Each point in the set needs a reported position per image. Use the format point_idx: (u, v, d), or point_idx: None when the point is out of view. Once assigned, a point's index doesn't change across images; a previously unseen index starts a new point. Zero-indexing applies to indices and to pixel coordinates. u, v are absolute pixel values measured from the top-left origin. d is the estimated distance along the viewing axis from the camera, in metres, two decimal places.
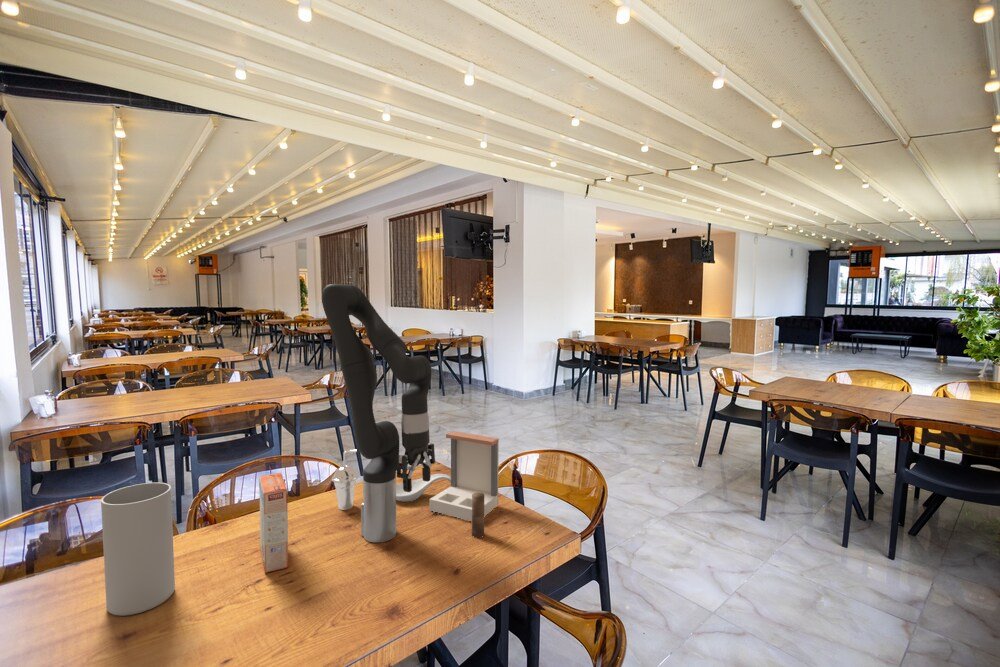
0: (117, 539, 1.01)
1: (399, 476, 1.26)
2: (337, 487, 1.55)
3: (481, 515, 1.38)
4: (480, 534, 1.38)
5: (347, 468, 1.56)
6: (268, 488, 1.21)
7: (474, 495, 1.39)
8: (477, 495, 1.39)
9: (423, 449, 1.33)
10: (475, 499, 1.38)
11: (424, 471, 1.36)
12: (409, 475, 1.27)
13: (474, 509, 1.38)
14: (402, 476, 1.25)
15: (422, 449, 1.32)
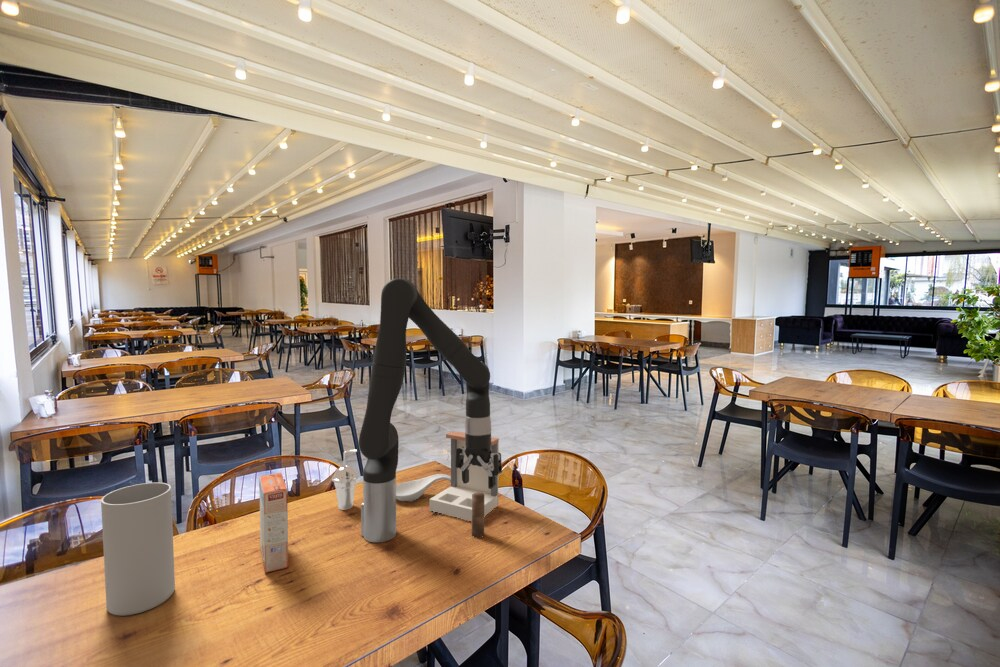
0: (117, 539, 1.01)
1: (499, 473, 1.35)
2: (337, 487, 1.55)
3: (481, 515, 1.38)
4: (480, 534, 1.38)
5: (347, 468, 1.56)
6: (268, 488, 1.21)
7: (474, 495, 1.39)
8: (477, 495, 1.39)
9: None
10: (475, 499, 1.38)
11: (466, 474, 1.40)
12: None
13: (474, 509, 1.38)
14: (500, 471, 1.36)
15: None
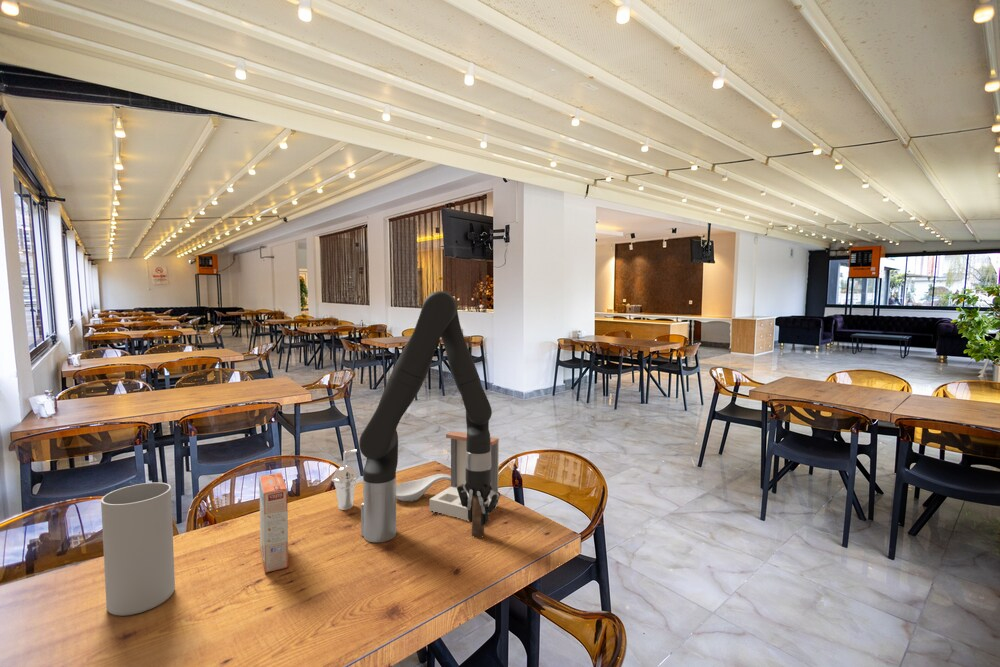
0: (117, 539, 1.01)
1: (491, 511, 1.37)
2: (337, 487, 1.55)
3: None
4: (480, 534, 1.38)
5: (347, 468, 1.56)
6: (268, 488, 1.21)
7: None
8: None
9: None
10: (475, 499, 1.38)
11: None
12: None
13: (474, 509, 1.38)
14: (493, 508, 1.38)
15: None
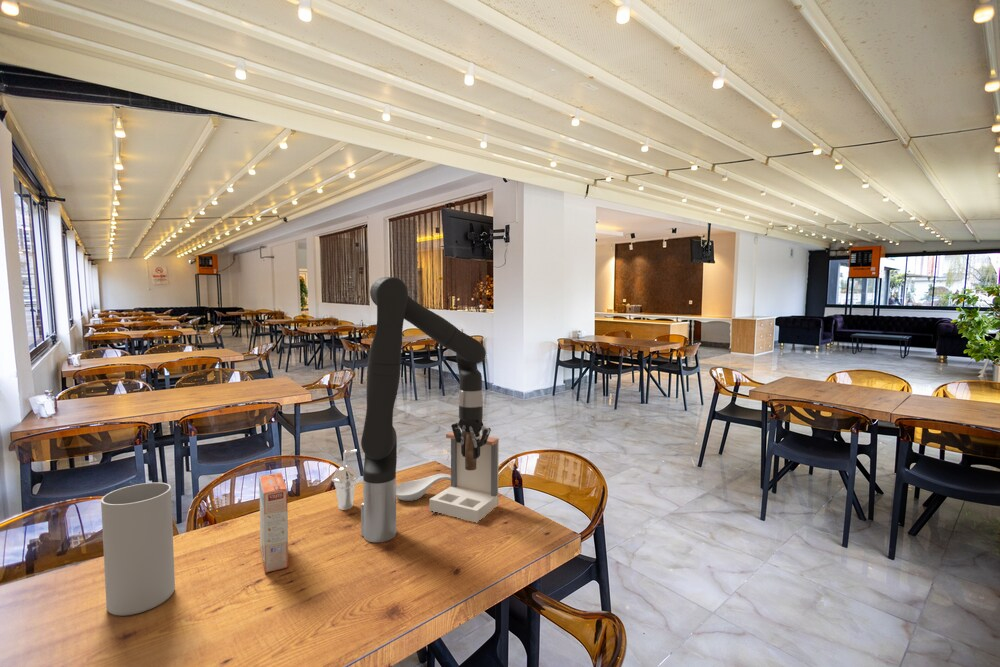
0: (117, 539, 1.01)
1: None
2: (337, 487, 1.55)
3: (473, 449, 1.49)
4: (472, 467, 1.50)
5: (347, 468, 1.56)
6: (268, 488, 1.21)
7: None
8: None
9: None
10: (468, 434, 1.49)
11: None
12: None
13: (467, 443, 1.49)
14: (485, 443, 1.49)
15: None
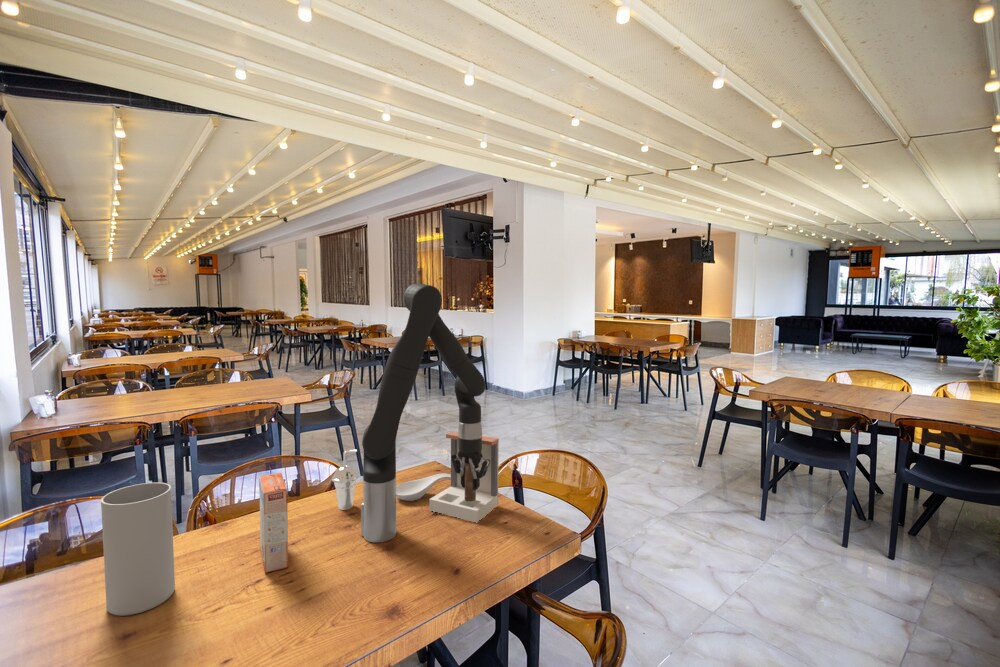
0: (117, 539, 1.01)
1: (482, 476, 1.50)
2: (337, 487, 1.55)
3: None
4: (472, 498, 1.51)
5: (347, 468, 1.56)
6: (268, 488, 1.21)
7: None
8: None
9: None
10: (467, 465, 1.50)
11: (464, 478, 1.53)
12: None
13: (467, 474, 1.51)
14: (484, 474, 1.50)
15: None
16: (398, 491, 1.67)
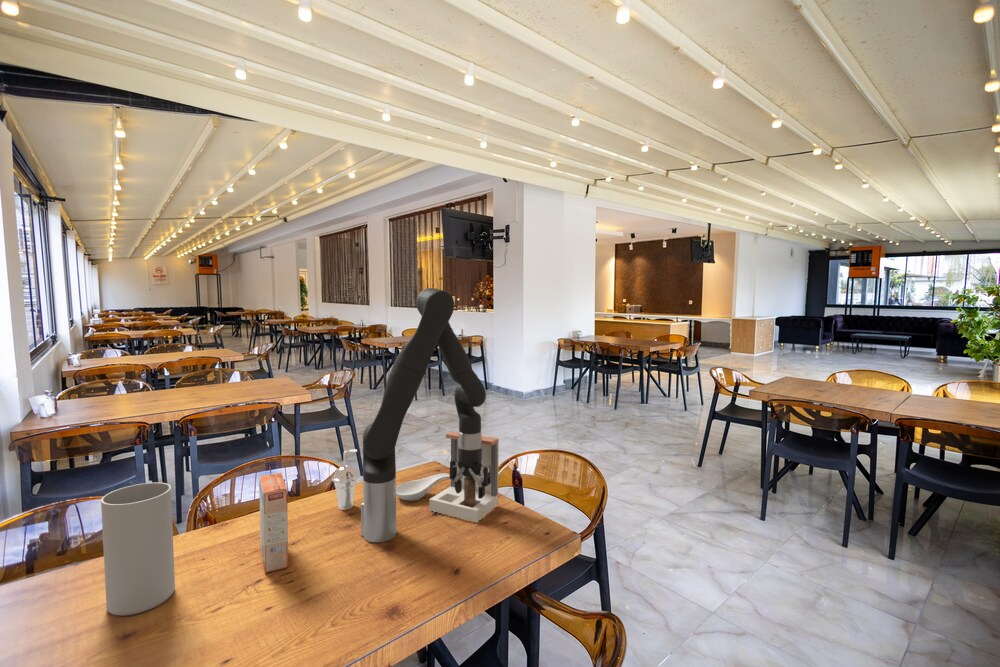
0: (117, 539, 1.01)
1: (488, 484, 1.49)
2: (337, 487, 1.55)
3: (472, 496, 1.51)
4: None
5: (347, 468, 1.56)
6: (268, 488, 1.21)
7: (466, 478, 1.52)
8: (469, 478, 1.52)
9: None
10: (467, 481, 1.51)
11: (459, 484, 1.54)
12: None
13: (466, 491, 1.51)
14: (489, 482, 1.50)
15: None
16: (399, 491, 1.67)
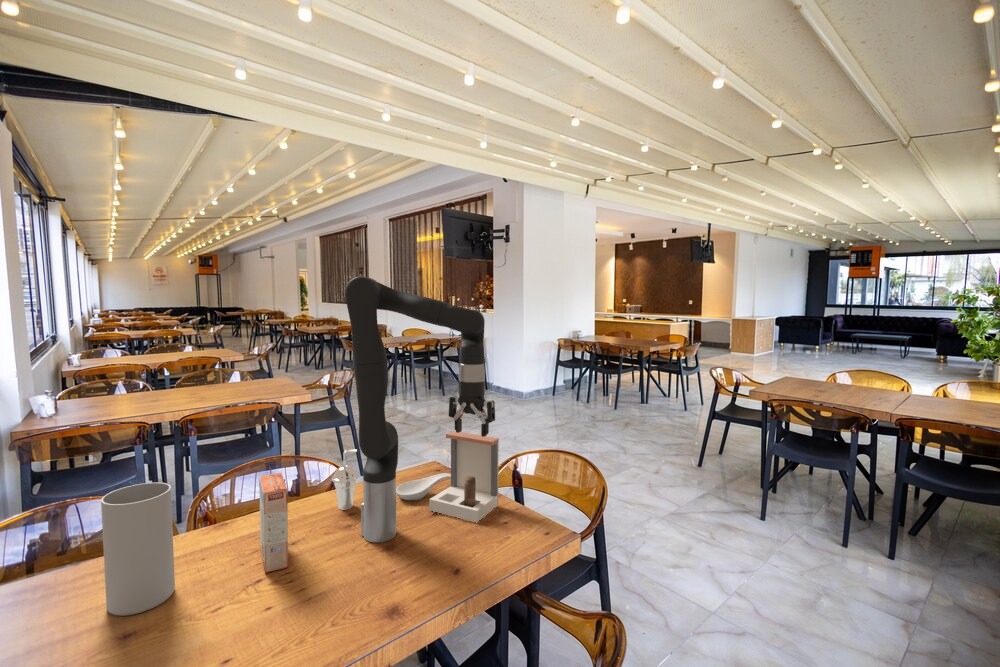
0: (117, 539, 1.01)
1: (492, 420, 1.35)
2: (337, 487, 1.55)
3: (472, 496, 1.51)
4: None
5: (347, 468, 1.56)
6: (268, 488, 1.21)
7: (466, 478, 1.52)
8: (469, 478, 1.52)
9: None
10: (467, 481, 1.51)
11: (459, 423, 1.40)
12: None
13: (466, 491, 1.51)
14: (494, 419, 1.35)
15: None
16: (400, 490, 1.67)
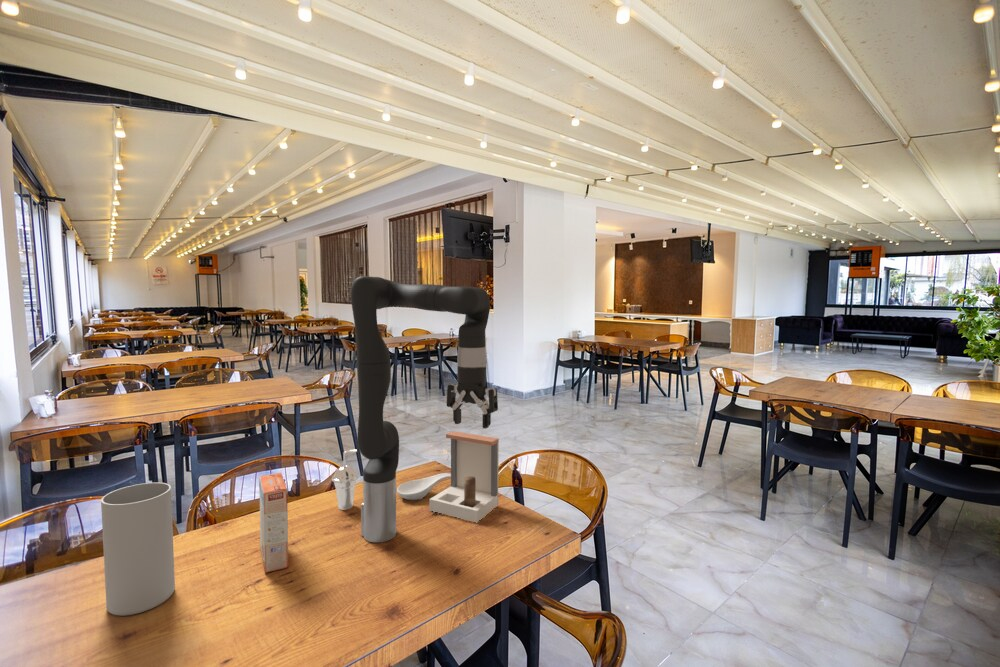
0: (117, 539, 1.01)
1: (494, 410, 1.21)
2: (337, 487, 1.55)
3: (472, 496, 1.51)
4: None
5: (347, 468, 1.56)
6: (268, 488, 1.21)
7: (466, 478, 1.52)
8: (469, 478, 1.52)
9: None
10: (467, 481, 1.51)
11: (458, 413, 1.26)
12: None
13: (466, 491, 1.51)
14: (496, 408, 1.22)
15: None
16: (401, 490, 1.68)
